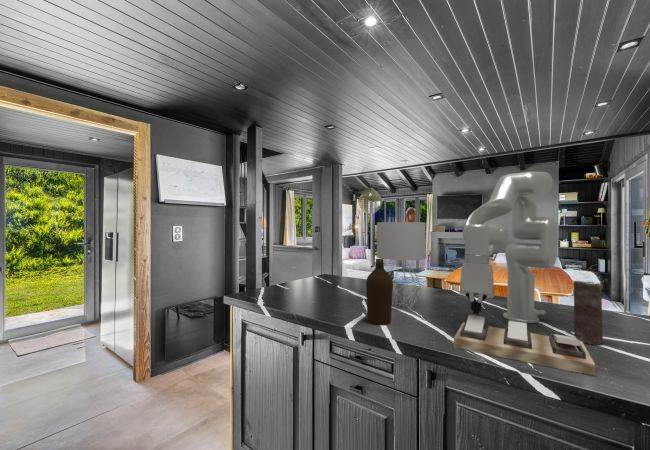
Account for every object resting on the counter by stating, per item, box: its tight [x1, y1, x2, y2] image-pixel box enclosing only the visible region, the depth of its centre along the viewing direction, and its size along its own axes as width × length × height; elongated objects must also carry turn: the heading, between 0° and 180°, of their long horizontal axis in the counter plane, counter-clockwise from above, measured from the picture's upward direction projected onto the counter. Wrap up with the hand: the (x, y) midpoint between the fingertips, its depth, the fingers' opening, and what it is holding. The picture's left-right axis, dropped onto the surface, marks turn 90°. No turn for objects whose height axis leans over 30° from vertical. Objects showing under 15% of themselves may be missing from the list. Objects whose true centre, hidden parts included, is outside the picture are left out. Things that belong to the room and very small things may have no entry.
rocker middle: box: [507, 320, 528, 343], centre depth 96 cm, size 5×11×1 cm, turn 148°
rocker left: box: [464, 314, 486, 335], centre depth 102 cm, size 5×11×1 cm, turn 148°
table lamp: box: [376, 221, 427, 311], centre depth 146 cm, size 22×22×40 cm
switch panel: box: [453, 320, 596, 377], centre depth 96 cm, size 34×19×4 cm, turn 58°
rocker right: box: [553, 333, 580, 346], centre depth 90 cm, size 5×11×1 cm, turn 148°
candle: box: [573, 280, 604, 345], centre depth 104 cm, size 8×7×20 cm
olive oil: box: [365, 258, 394, 326], centre depth 123 cm, size 11×11×25 cm
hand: (476, 313), depth 106 cm, fingers closed
